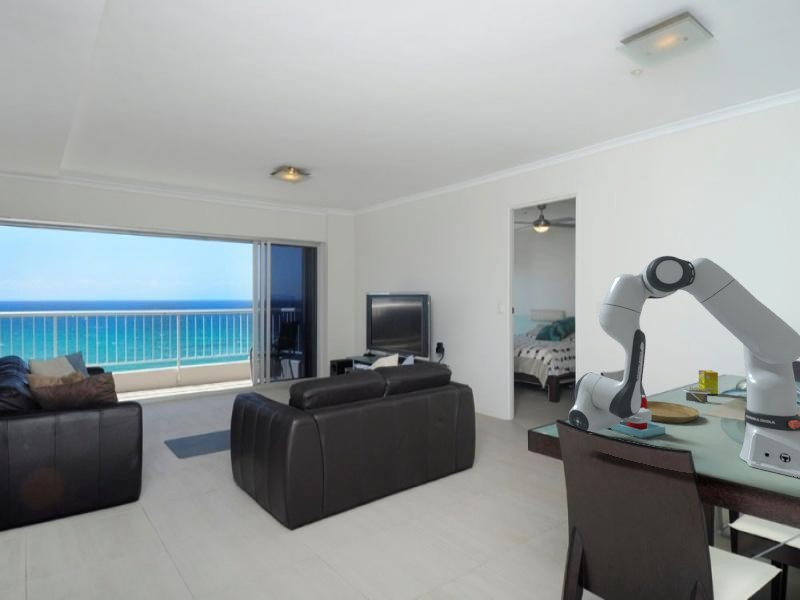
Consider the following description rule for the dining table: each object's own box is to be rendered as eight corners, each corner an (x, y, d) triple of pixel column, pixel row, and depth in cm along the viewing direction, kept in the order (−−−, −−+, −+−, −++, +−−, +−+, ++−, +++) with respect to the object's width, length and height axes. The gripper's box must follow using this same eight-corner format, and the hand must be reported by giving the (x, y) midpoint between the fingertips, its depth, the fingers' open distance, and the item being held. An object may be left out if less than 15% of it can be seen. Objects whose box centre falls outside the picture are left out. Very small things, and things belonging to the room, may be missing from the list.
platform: (722, 407, 197) (722, 392, 197) (672, 402, 206) (672, 388, 206) (720, 402, 207) (720, 387, 207) (673, 397, 216) (673, 383, 216)
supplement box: (698, 392, 225) (698, 369, 225) (711, 393, 224) (711, 370, 224) (704, 395, 219) (704, 371, 219) (718, 395, 218) (718, 372, 218)
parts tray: (665, 433, 159) (665, 426, 159) (641, 438, 153) (641, 431, 153) (633, 425, 169) (633, 418, 169) (610, 429, 164) (610, 422, 164)
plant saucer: (695, 428, 166) (695, 419, 166) (621, 418, 180) (621, 409, 180) (702, 414, 185) (702, 406, 185) (634, 406, 199) (634, 398, 199)
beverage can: (636, 426, 165) (636, 392, 165) (651, 431, 160) (651, 396, 160) (622, 428, 163) (622, 394, 163) (637, 433, 157) (637, 397, 157)
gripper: (639, 410, 142) (661, 403, 150) (578, 398, 158) (601, 392, 166) (639, 430, 142) (660, 423, 150) (578, 416, 158) (600, 410, 166)
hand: (628, 407), depth 158 cm, fingers open, 8 cm apart
